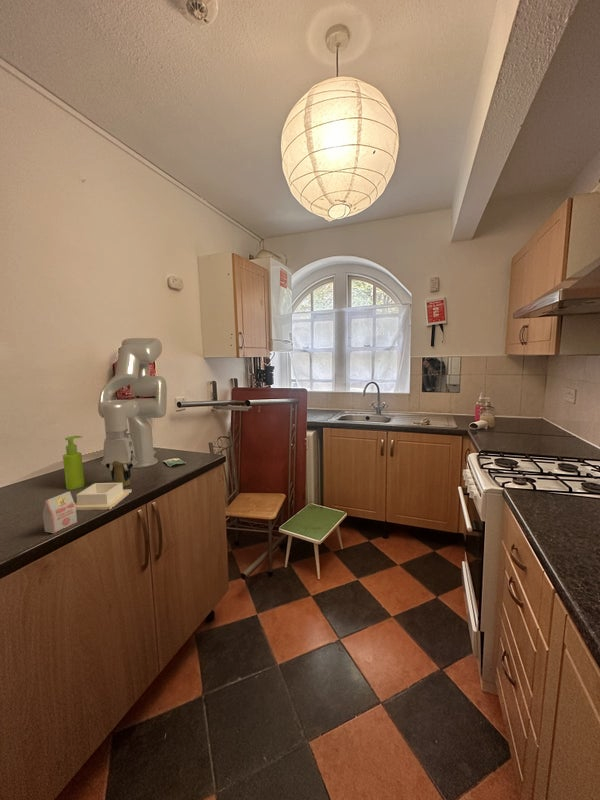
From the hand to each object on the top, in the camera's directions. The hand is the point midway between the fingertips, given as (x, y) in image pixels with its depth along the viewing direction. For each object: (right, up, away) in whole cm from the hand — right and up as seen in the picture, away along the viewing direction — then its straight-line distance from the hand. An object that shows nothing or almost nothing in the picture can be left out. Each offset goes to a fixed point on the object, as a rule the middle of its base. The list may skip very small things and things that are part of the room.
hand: (121, 479), depth 124 cm
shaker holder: (0, -4, -13) cm, 14 cm away
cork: (0, -3, 0) cm, 2 cm away
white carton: (0, -7, -31) cm, 32 cm away
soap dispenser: (-18, -3, 0) cm, 18 cm away
